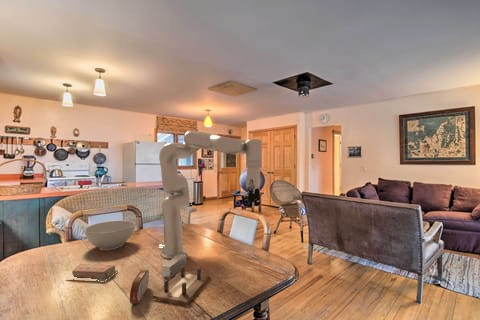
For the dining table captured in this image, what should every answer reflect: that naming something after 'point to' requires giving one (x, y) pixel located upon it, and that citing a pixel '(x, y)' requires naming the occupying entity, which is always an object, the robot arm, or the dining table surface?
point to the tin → (139, 286)
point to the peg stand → (182, 287)
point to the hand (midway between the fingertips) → (254, 200)
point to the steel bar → (174, 265)
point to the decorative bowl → (110, 233)
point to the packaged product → (94, 271)
